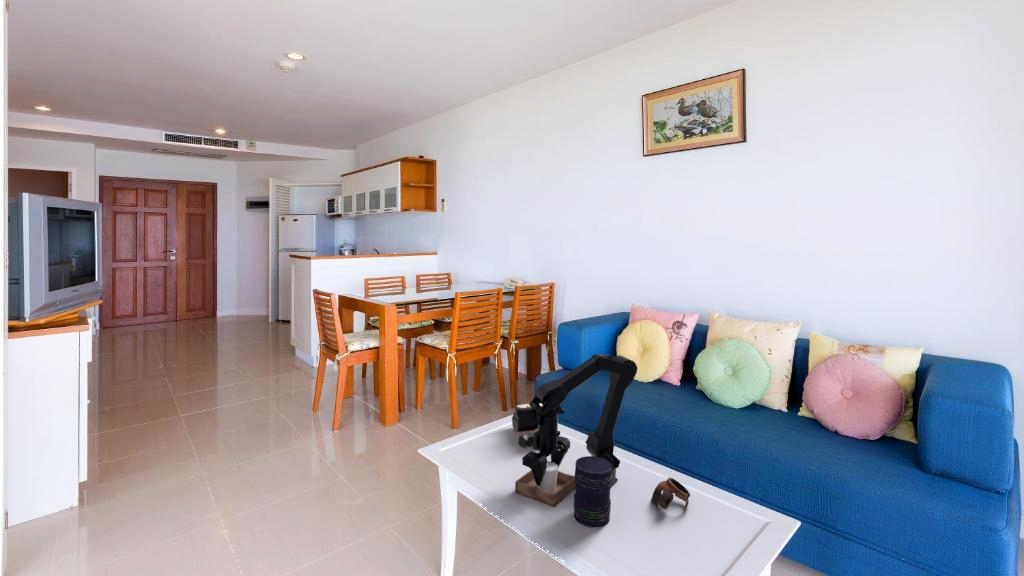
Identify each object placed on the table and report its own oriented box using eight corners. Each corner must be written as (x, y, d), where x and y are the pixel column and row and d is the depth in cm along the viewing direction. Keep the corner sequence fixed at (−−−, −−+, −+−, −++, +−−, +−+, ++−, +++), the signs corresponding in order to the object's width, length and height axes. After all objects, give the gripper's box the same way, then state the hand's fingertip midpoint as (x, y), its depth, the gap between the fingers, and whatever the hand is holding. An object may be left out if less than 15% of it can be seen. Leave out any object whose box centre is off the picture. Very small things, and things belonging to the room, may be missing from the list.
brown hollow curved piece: (652, 494, 147) (668, 472, 146) (680, 517, 142) (696, 495, 141) (642, 502, 137) (659, 478, 136) (672, 528, 132) (689, 503, 131)
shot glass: (554, 496, 143) (555, 473, 142) (531, 492, 145) (532, 469, 144) (560, 484, 149) (560, 462, 148) (538, 480, 151) (538, 459, 150)
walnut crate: (576, 487, 149) (576, 476, 148) (554, 507, 138) (555, 495, 137) (538, 475, 156) (538, 464, 156) (515, 492, 145) (515, 481, 145)
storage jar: (617, 517, 134) (619, 464, 132) (597, 532, 126) (599, 477, 125) (586, 503, 140) (588, 452, 139) (565, 517, 133) (567, 464, 131)
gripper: (540, 413, 157) (539, 460, 159) (507, 432, 142) (506, 484, 143) (571, 421, 151) (570, 470, 153) (540, 441, 135) (539, 495, 137)
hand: (546, 479), depth 146 cm, fingers open, 9 cm apart
